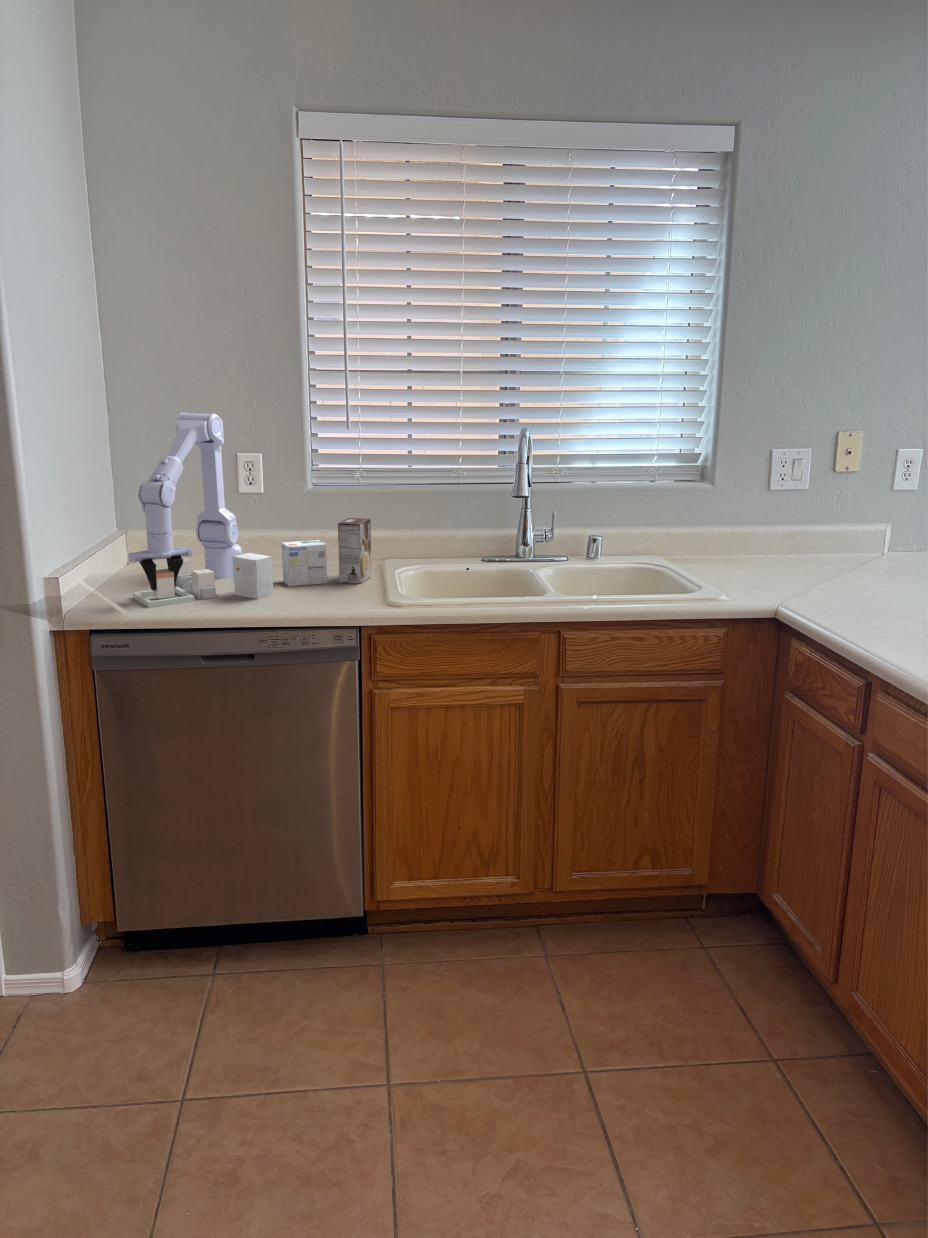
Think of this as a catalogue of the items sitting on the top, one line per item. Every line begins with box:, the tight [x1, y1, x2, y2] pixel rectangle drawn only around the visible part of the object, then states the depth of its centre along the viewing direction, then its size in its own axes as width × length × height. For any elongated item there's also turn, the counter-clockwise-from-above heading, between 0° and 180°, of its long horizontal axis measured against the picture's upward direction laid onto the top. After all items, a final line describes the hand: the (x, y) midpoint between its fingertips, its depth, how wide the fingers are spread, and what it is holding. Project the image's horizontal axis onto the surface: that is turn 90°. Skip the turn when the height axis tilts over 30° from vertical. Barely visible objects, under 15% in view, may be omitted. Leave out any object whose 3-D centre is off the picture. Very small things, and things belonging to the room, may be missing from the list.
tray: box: [132, 587, 196, 608], centre depth 221 cm, size 11×11×2 cm
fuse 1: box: [176, 556, 192, 585], centre depth 237 cm, size 4×4×6 cm
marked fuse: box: [152, 568, 176, 600], centre depth 220 cm, size 4×4×6 cm
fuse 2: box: [191, 568, 216, 598], centre depth 224 cm, size 4×4×6 cm
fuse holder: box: [176, 573, 221, 601], centre depth 231 cm, size 6×23×3 cm, turn 37°
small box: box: [233, 552, 274, 600], centre depth 226 cm, size 8×6×10 cm
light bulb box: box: [281, 539, 328, 587], centre depth 242 cm, size 11×7×11 cm, turn 115°
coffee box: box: [337, 517, 372, 584], centre depth 246 cm, size 9×6×16 cm
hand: (163, 588), depth 220 cm, fingers closed on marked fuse, 4 cm apart
